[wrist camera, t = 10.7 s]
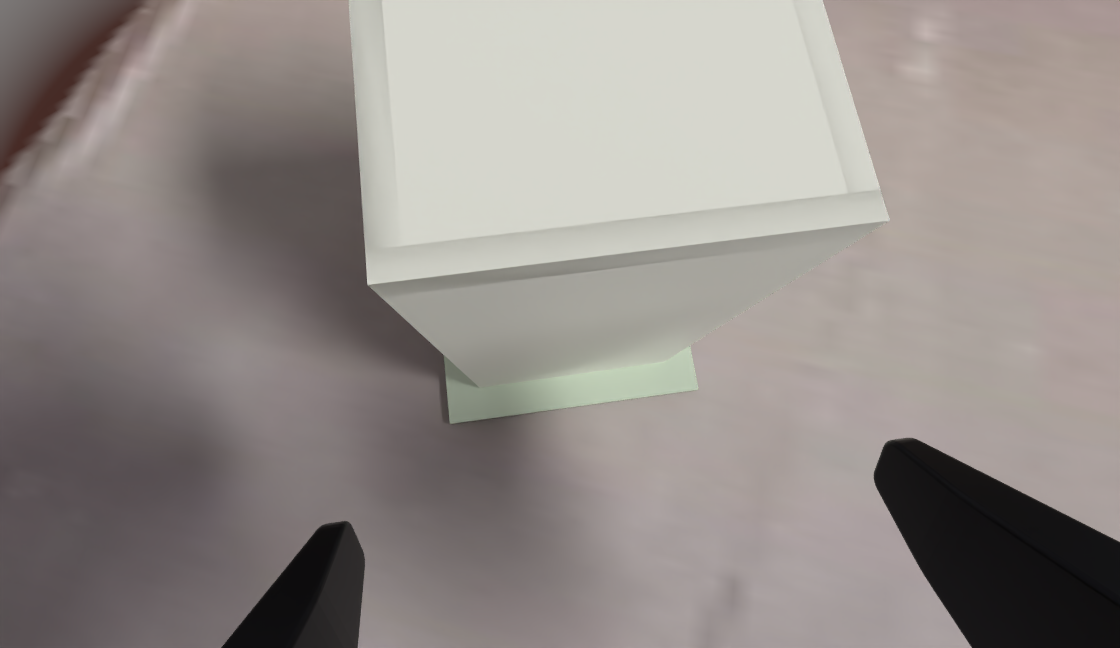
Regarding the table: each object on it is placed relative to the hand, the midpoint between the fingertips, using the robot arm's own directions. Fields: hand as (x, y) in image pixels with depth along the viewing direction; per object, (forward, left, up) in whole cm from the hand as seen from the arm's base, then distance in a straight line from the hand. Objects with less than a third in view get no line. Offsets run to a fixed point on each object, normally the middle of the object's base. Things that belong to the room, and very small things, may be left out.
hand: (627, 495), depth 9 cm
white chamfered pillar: (+2, +6, -7) cm, 10 cm away
